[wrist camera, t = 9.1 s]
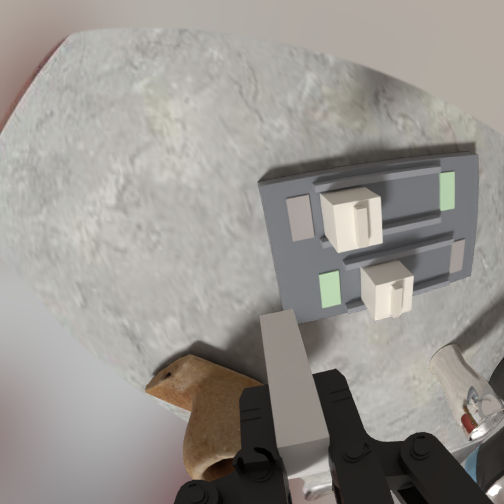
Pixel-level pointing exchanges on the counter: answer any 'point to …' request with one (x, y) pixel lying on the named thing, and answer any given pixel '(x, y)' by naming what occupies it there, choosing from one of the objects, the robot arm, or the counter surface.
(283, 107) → the counter surface
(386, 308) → the tab
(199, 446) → the clay platform pipe
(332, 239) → the tab
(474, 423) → the beer glass
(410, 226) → the switch board
